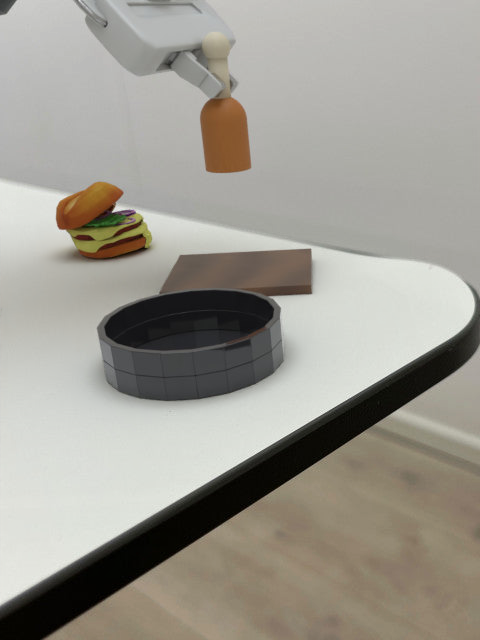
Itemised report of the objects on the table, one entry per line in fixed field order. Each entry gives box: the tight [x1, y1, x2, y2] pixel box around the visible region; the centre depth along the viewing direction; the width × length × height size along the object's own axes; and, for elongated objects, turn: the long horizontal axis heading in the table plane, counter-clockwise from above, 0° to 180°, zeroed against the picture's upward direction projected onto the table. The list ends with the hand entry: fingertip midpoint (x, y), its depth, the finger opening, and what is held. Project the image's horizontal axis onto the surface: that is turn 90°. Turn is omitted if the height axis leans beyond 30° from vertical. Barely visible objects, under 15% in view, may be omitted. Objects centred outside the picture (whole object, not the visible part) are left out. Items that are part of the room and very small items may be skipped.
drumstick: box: [199, 32, 252, 174], centre depth 79 cm, size 5×5×13 cm
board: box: [158, 247, 313, 297], centre depth 87 cm, size 16×14×2 cm
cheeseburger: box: [55, 181, 153, 260], centre depth 100 cm, size 10×11×10 cm
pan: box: [96, 288, 285, 402], centre depth 66 cm, size 15×15×4 cm
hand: (226, 91), depth 78 cm, fingers closed on drumstick
